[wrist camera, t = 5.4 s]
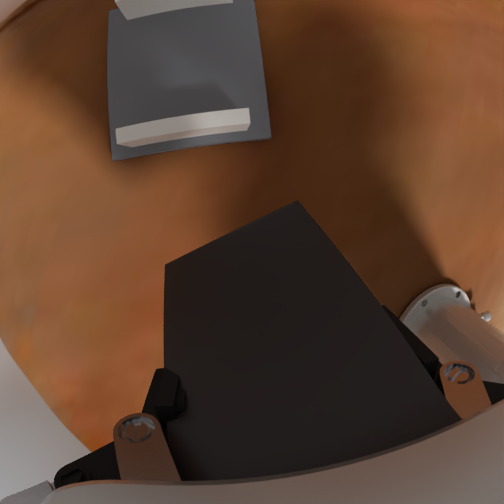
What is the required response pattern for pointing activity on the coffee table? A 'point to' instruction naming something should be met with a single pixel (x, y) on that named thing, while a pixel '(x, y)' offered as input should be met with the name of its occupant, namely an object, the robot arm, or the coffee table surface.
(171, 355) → the phone stand
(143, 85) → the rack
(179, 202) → the coffee table surface
